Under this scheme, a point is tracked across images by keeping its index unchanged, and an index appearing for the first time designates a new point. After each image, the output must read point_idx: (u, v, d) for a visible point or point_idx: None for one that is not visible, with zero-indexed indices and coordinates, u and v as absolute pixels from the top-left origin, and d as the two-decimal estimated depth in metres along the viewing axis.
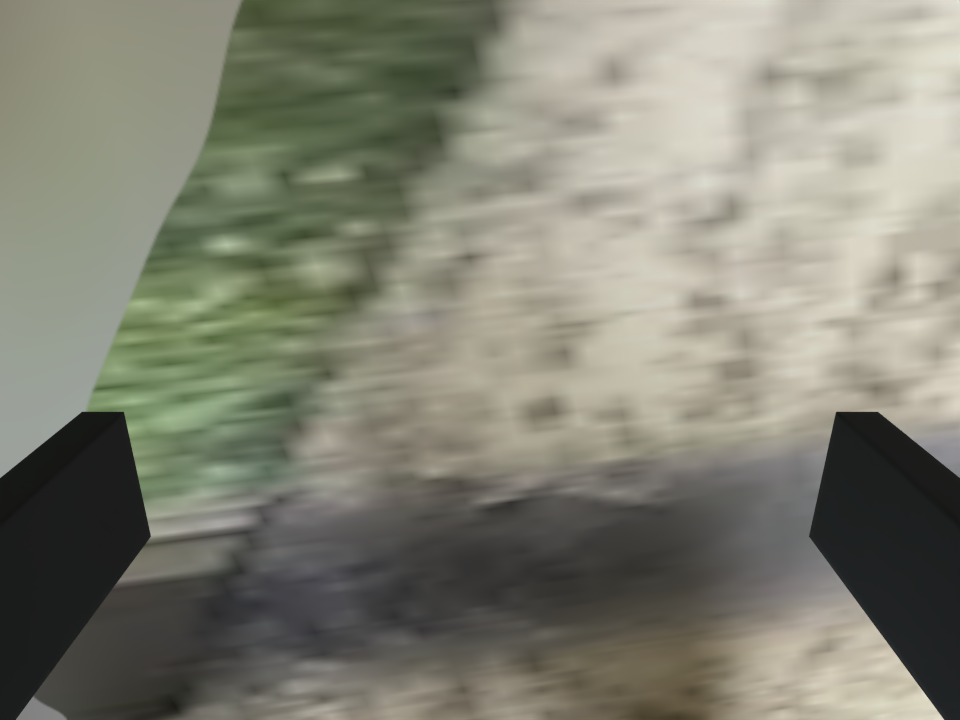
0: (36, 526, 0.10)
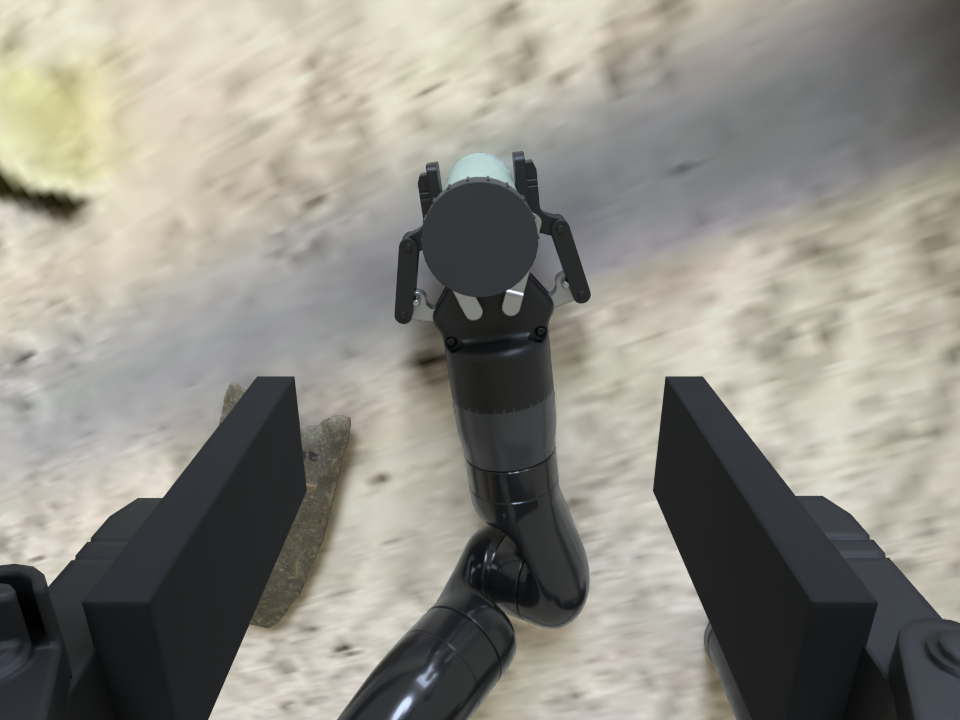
0: (254, 467, 0.11)
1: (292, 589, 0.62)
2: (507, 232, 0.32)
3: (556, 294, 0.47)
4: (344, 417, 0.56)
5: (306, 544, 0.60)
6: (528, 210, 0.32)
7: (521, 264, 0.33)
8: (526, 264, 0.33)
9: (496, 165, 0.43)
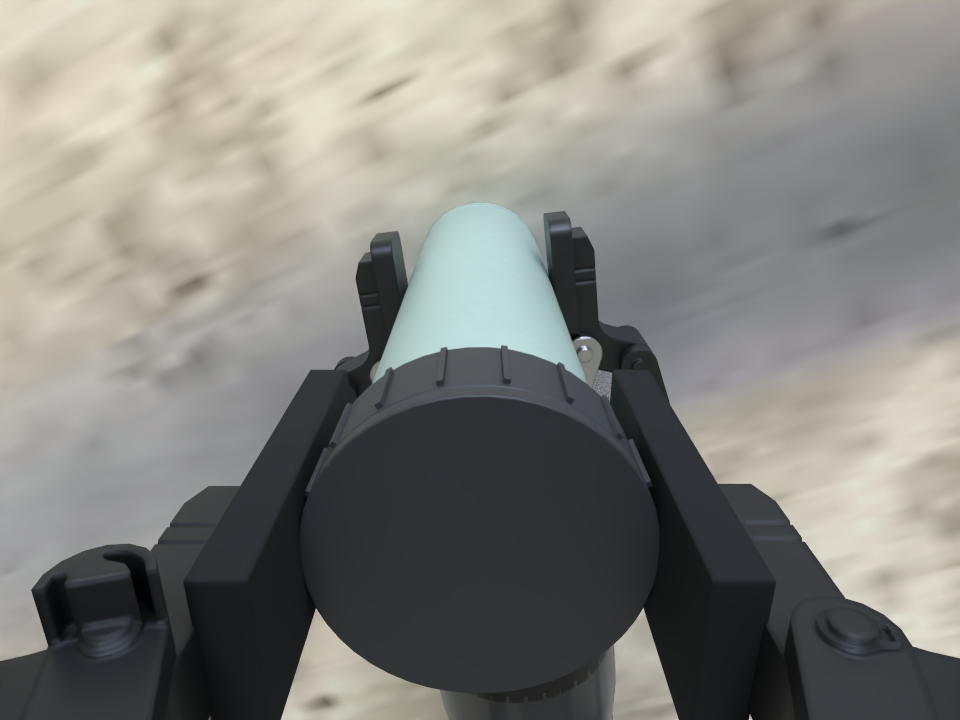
0: (319, 457, 0.12)
1: None
2: (566, 536, 0.10)
3: None
4: None
5: None
6: (636, 478, 0.10)
7: (605, 616, 0.11)
8: (620, 616, 0.11)
9: (513, 242, 0.22)
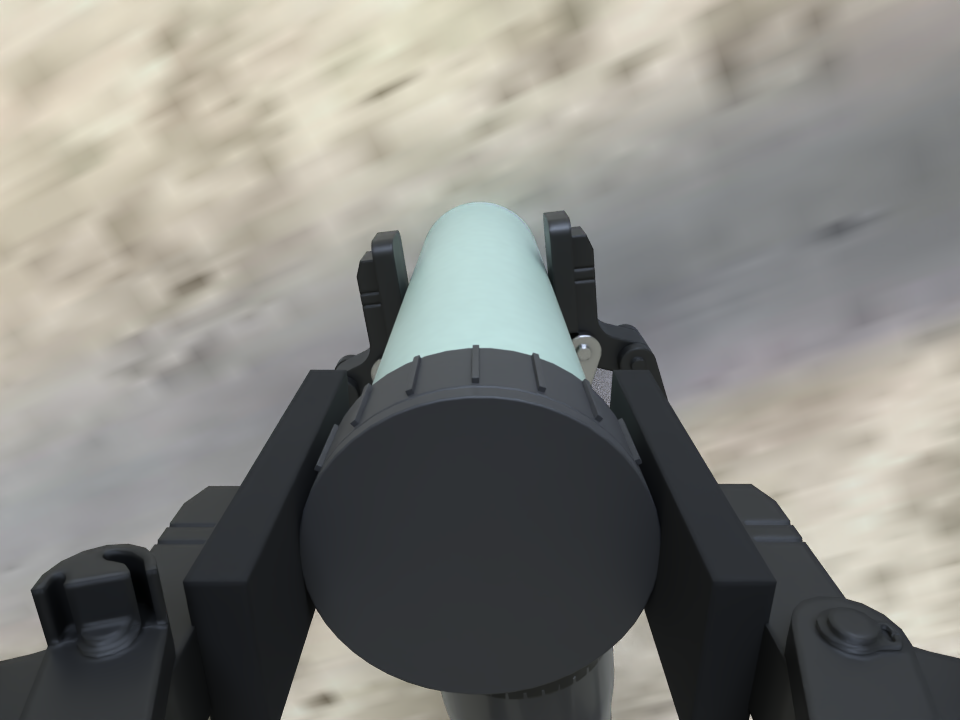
0: None
1: None
2: (451, 486, 0.10)
3: None
4: None
5: None
6: (377, 428, 0.10)
7: (560, 445, 0.10)
8: (560, 430, 0.10)
9: (513, 241, 0.22)
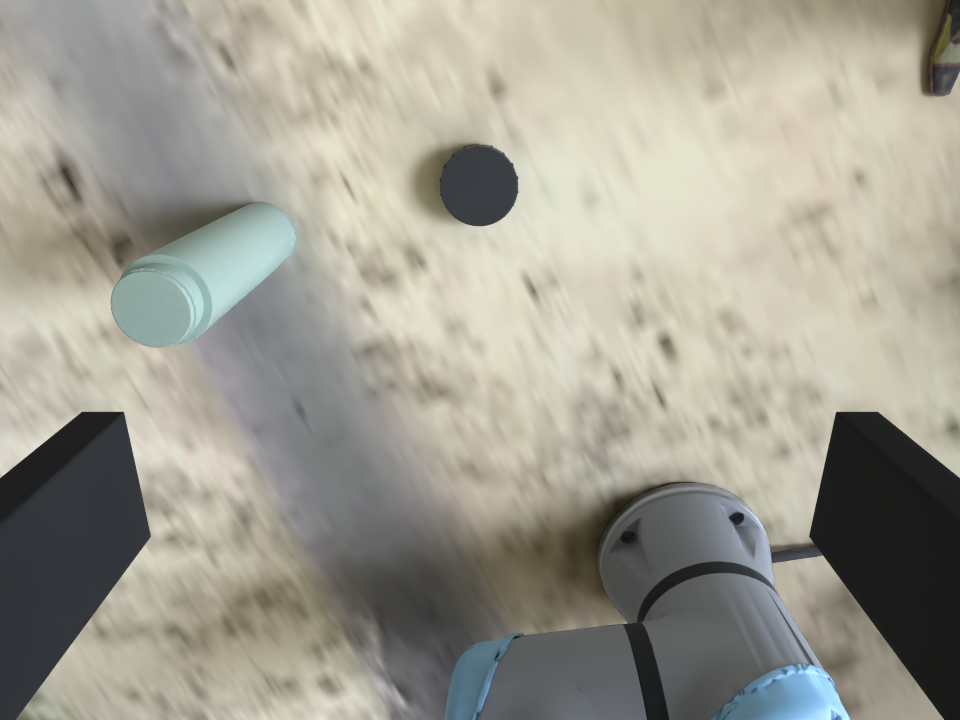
0: (35, 526, 0.10)
1: None
2: (473, 168, 0.48)
3: None
4: None
5: None
6: (458, 154, 0.48)
7: (495, 158, 0.48)
8: (495, 154, 0.48)
9: (269, 270, 0.46)
